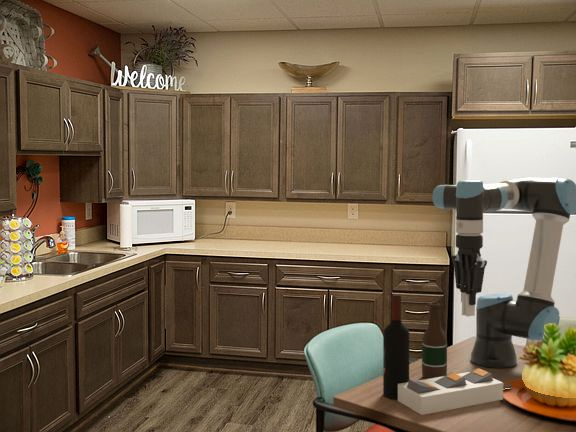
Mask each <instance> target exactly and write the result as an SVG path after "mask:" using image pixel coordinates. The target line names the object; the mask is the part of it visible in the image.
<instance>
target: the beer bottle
mask: <svg viewBox="0 0 576 432" xmlns="http://www.w3.org/2000/svg"><path fill="white" fill-rule="evenodd" d="M441 305H442V304H441V303H439V302H435V301H434V302H430V303H429V304H428V307H429V313H428V325H427V328H426V329H425V331H424V333H423V335H422V340H421V376H422V377H423V378H424V379H430V378H436V377H442V376H446V375H448V373H447V370H448V362H447V361H448V339H447V336H446V333H445V331H444V330H443V327H442V322H441V319H442V318H441V307H442V306H441Z"/></svg>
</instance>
